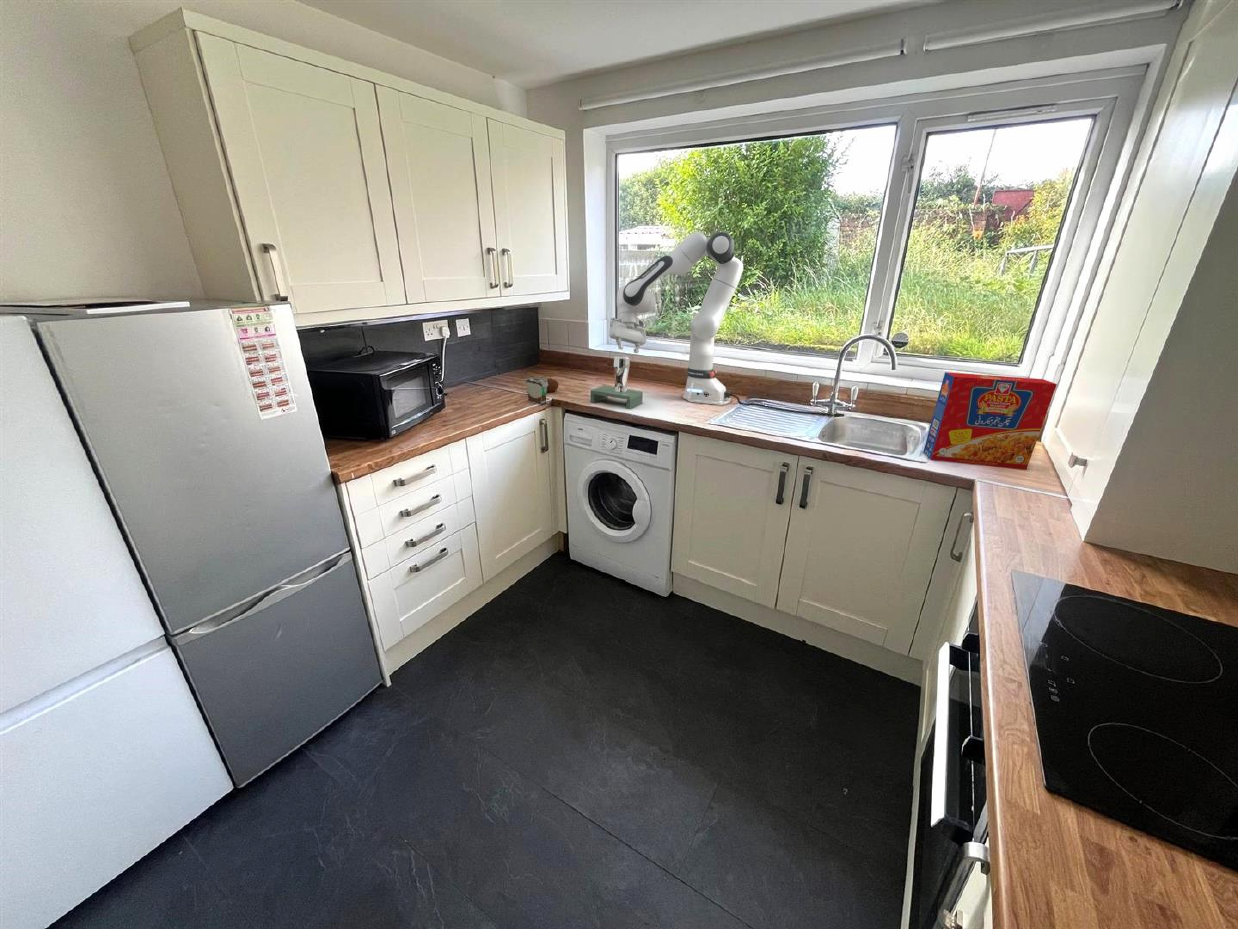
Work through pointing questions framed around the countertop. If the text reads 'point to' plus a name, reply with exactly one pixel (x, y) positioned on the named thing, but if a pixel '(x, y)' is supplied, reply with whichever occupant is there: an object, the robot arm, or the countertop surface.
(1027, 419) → the pasta box
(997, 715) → the countertop surface
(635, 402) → the shelf
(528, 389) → the food container
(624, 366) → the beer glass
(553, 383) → the potato
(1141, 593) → the countertop surface
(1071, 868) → the countertop surface
